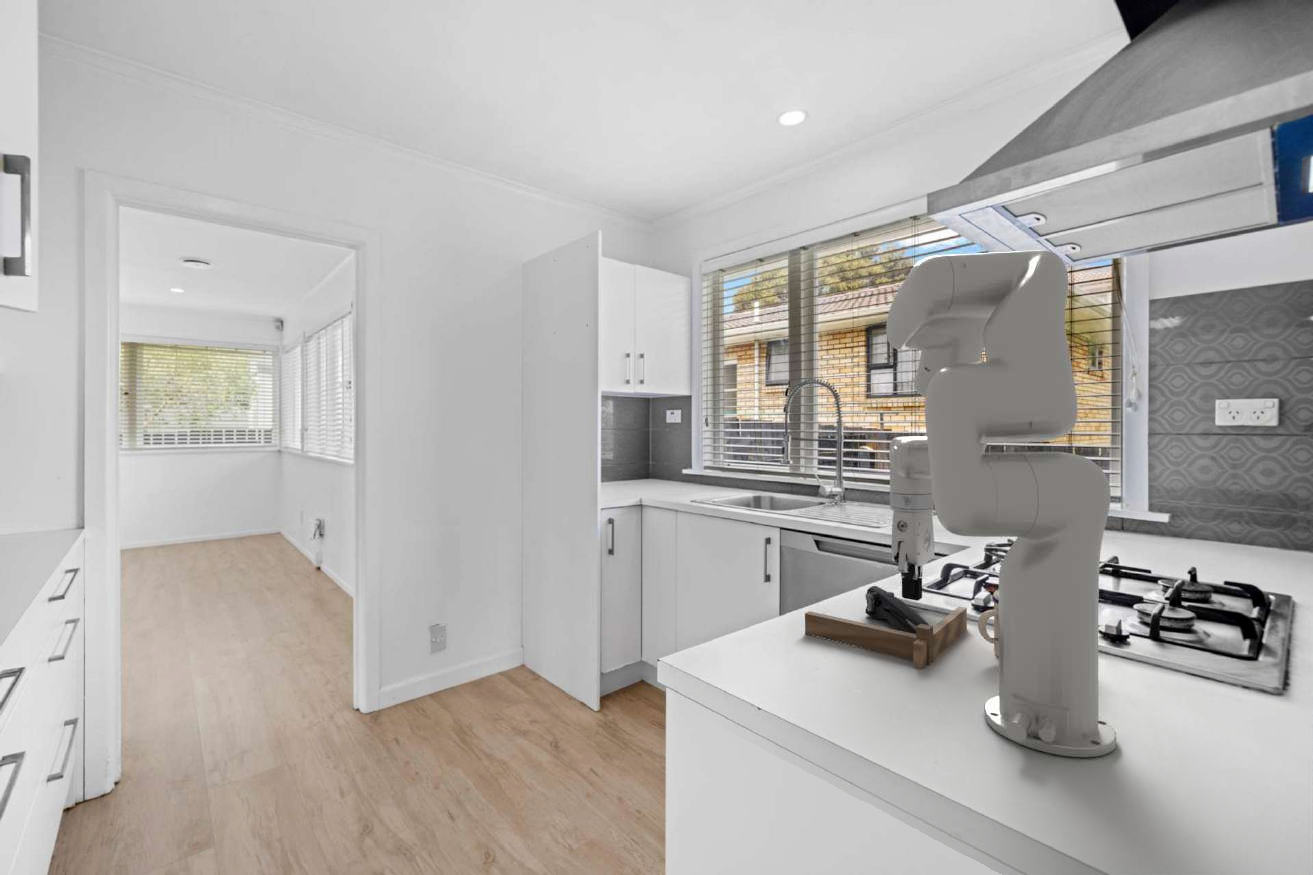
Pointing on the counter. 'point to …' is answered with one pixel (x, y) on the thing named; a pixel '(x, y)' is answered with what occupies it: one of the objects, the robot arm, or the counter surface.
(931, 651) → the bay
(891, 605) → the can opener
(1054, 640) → the robot arm
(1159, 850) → the counter surface
